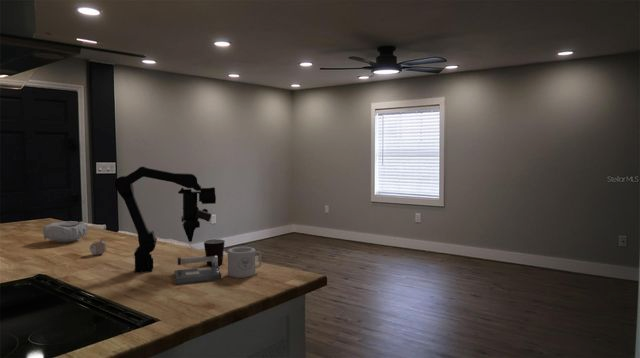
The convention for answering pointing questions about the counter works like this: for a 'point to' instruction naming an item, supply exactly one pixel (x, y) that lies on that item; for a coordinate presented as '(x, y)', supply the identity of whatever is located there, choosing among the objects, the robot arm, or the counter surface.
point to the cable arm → (199, 260)
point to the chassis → (197, 275)
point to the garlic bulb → (98, 247)
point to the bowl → (65, 231)
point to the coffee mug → (214, 249)
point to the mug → (242, 262)
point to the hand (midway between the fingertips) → (190, 241)
